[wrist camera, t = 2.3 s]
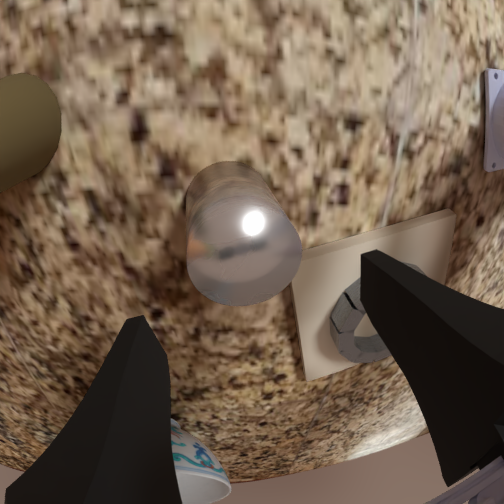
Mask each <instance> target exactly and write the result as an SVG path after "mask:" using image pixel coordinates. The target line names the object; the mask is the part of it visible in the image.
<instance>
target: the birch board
mask: <svg viewBox="0 0 504 504" xmlns="http://www.w3.org/2000/svg"><path fill="white" fill-rule="evenodd" d="M456 215H457V214H456V213H454V212H453V211H451V210H450V209H449V208H447V209H444V210H441V211H437V212H434V213H431V214H427V215H424V216H420V217H417V218H414V219H410V220H407V221H403V222H400V223H397V224H393V225H390V226H386V227H383V228H379V229H376V230H373V231H369V232H366V233H362V234H359V235H355V236H352V237H348V238H345V239H341V240H338V241H334V242H331V243H327V244H324V245H320V246H317V247H313V248H310V249H306V250H303V251H302V259H301V263H300V266H299V269H298V271H297V273H296V275H295V277H294V278H293V279H292V281H291V282H290V283H289V286H290V292H291V297H292V303H293V309H294V316H295V322H296V328H297V334H298V340H299V347H300V353H301V360H302V366H303V373H304V376H305V378H306V381H307V382H308V381H311V380H314V379H317V378H320V377H323V376H326V375H329V374H332V373H335V372H338V371H341V370H344V369H346V368H349V367H352V366H355V365H357V364H360V363H353V362H350V361H349V360H347V359H346V358H345V357H343V356H342V355H341V354H339V352H338V350H337V347H336V345H335V343H334V341H333V339H332V337H331V335H330V321H329V317H330V316H331V315H330V313H331V312H332V310H333V308H334V306H335V305H336V303H337V301H338V299H339V298H340V296H341V294H342V292H344V293H347V292H346V291H345V289H346V288H347V287H349V286H350V285H351V284H352V283H354V282H355V281H356V280H357V279H358V278H360V274H361V256H360V254H363V253H366V252H369V251H372V250H375V249H377V250H379V251H382V252H383V253H385V254H387V255H389V256H391V257H393V258H395V259H396V260H398V261H401V262H406V263H410V264H414V265H417V266H418V267H419V268H420V269H421V270H422V271H423V272H424V273H425V274H426V275H427V277H429V278H431V279H433V280H435V281H437V282H439V283H441V284H443V285H444V284H445V279H446V275H447V270H448V265H449V259H450V254H451V248H452V242H453V236H454V229H455V222H456ZM375 334H378V333H377V331H376V330H375V328H374V327H373V325H372V323H371V321H370V319H369V317H368V315H367V314H365V315H364V317H363V318H362V320H361V321H360V323H359V325H358V326H357V328H356V329H355V331H354V336H360V337H370V336H373V335H375Z"/></svg>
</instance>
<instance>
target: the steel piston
mask: <svg viewBox="0 0 504 504" xmlns="http://www.w3.org/2000/svg"><path fill="white" fill-rule="evenodd" d="M186 254H187V270H188V274H189V277H190V279H191V281H192V283H193V284H194V286H195V287H196V288H197V289H198V291H199V292H200V293H202V294H203V295H204V296H205V297H207V298H209V299H210V300H213V301H215V302H217V303H220V304H224V305H229V306H247V305H253V304H257V303H260V302H263V301H266V300H268V299H270V298H272V297H273V296H275V295H277V294H278V293H280V292H281V291H282V290H283V289H284V288H285V287H287V285H288V284H289V283H290V282H291V281H292V279H293V278H294V277H295V275H296V273H297V271H298V269H299V266H300V263H301V259H302V245H301V240H300V238H299V235H298V233H297V231H296V230H295V228H294V226H293V225H292V223H291V222H290V220H289V218H288V217H287V215H286V214H285V212H284V211H283V209H282V207H281V206H280V204H279V203H278V201H277V200H276V198H275V197H274V195H273V194H272V192H271V190H270V189H269V187H268V186H267V184H266V183H265V181H264V180H263V178H262V177H261V176H260V174H259V173H258V172H257V171H256V170H255V169H253V168H252V167H250V166H248V165H246V164H244V163H241V162H236V161H222V162H217V163H214V164H212V165H209V166H207V167H206V168H204V169H203V170H201V171H200V172H199V173H198V174H197V175H196V176H195V177H194V179H193V180H192V182H191V183H190V185H189V187H188V190H187V195H186Z"/></svg>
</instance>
